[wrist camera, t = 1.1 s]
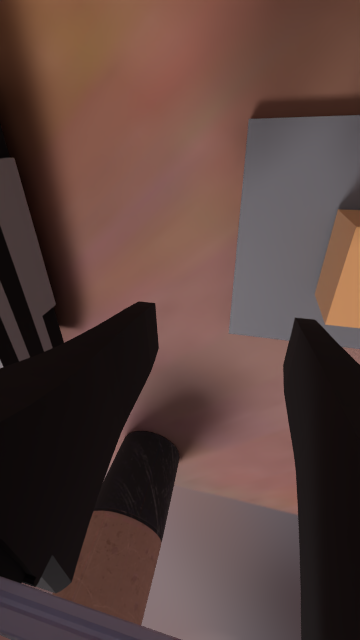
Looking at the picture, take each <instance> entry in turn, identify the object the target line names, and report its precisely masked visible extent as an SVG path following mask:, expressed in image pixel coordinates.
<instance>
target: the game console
mask: <svg viewBox="0 0 360 640" xmlns="http://www.w3.org/2000/svg"><path fill="white" fill-rule="evenodd" d="M55 305H56V303H55V300H54V296H53V293H52V289H51V286H50V282H49V279H48V275H47V271H46V268H45V264H44V261H43V257H42V254H41V250H40V247H39V243H38V240H37V236H36V233H35V229H34V226H33V222H32V219H31V215H30V212H29V208H28V205H27V201H26V198H25V194H24V191H23V187H22V184H21V180H20V176H19V173H18V169H17V166H16V162H15V159H14V158H10V156H9V152H8V149H7V145H6V142H5V139H4V135H3V132H2V128H1V125H0V368H2V367H5V366H8V365H11V364H13V363H16V362H19V361H22V360H25V359H27V358H30V357H33V356H35V355H38V354H40V353H43V352H45V351H47V350H50V349H52V348H54V347H56V346H59V345H61V344H63V343H64V341H63V338H62V334H61V331H60V327H59V324H58V321H57V317H56V314H55V310H54V306H55Z"/></svg>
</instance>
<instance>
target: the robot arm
mask: <svg viewBox="0 0 360 640" xmlns="http://www.w3.org/2000/svg"><path fill="white" fill-rule="evenodd" d="M158 349H159V347H158V334H157V321H156V308H155V303H148V302H137V303H135V304H133V305H131V306H130V307H128V308H126V309H124V310H123V311H121V312H119V313H118V314H116V315H114V316H113V317H111V318H109V319H108V320H106V321H104V322H102V323H101V324H99V325H97V326H96V327H94V328H92V329H90V330H88V331H86V332H84V333H82V334H81V335H79V336H77V337H75V338H73V339H71V340H69V341H67V342H65V343H63V344H61V345H59V346H56V347H54V348H52V349H50V350H47V351H45V352H43V353H40V354H38V355H35V356H33V357H30V358H27V359H25V360H22V361H19V362H16V363H13V364H11V365H8V366H5V367H2V368H0V635H1V636H3V637H6V638H8V639H11V640H181V639H178V638H175V637H172V636H169V635H166V634H163V633H161V632H158V631H155V630H152V629H149V628H146V627H144V626H141V625H138V624H135V623H132V622H129V621H126V620H124V619H121V618H118V617H115V616H112V615H109V614H106V613H104V612H101V611H98V610H95V609H92V608H89V607H86V606H84V605H81V604H78V603H75V602H72V601H69V600H66V599H64V598H61V597H58V596H55V595H52V594H49V593H46V592H43V591H41V590H38V589H35V588H32V587H29V586H26V585H24V584H21V583H25V584H28V585H31V586H34V587H39V588H42V589H45V590H48V591H51V592H53V593H58V592H60V591H62V590H63V589H64V588H66V587H67V586H68V585H69V584H70V583H71V582H72V580H73V576H74V573H75V569H76V566H77V562H78V559H79V556H80V552H81V549H82V546H83V542H84V539H85V536H86V532H87V529H88V526H89V523H90V520H91V517H92V514H93V511H94V508H95V504H96V501H97V498H98V495H99V492H100V489H101V486H102V484H103V481H104V478H105V475H106V472H107V469H108V466H109V464H110V461H111V458H112V455H113V453H114V450H115V447H116V445H117V442H118V439H119V437H120V434H121V432H122V430H123V427H124V425H125V423H126V421H127V419H128V417H129V415H130V413H131V411H132V409H133V407H134V405H135V403H136V401H137V399H138V397H139V395H140V393H141V391H142V389H143V387H144V385H145V383H146V381H147V378H148V376H149V374H150V372H151V370H152V367H153V364H154V361H155V358H156V355H157V352H158ZM283 372H284V395H285V401H286V408H287V414H288V421H289V427H290V433H291V439H292V445H293V452H294V459H295V467H296V481H297V499H298V520H299V543H300V575H301V576H300V578H301V636H302V637H301V639H302V640H360V365H359V364H358V363H357V362H356V361H355V360H354V359H353V358H352V357H351V356H350V355H349V354H348V353H347V352H346V351H345V350H344V349H343V348H342V347H341V346H340V345H339V344H338V343H337V342H336V341H335V340H334V339H333V338H332V336H331V335H330V334H329V333H328V332H327V331H326V330H325V329H324V328H323V327H322V326H321V325H320V324H319V323H318V322H317V321H316V320H314V319H305V318H295V319H294V324H293V328H292V332H291V336H290V340H289V344H288V348H287V352H286V356H285V361H284V365H283Z"/></svg>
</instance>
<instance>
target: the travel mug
mask: <svg viewBox="0 0 360 640" xmlns="http://www.w3.org/2000/svg"><path fill="white" fill-rule="evenodd" d="M178 463H179V453H178V450H177V448H176V447H175V446H174V445H173V444H172V443H171V442H170V441H168V440H167V439H165V438H164V437H162V436H160V435H157V434H154V433H151V432H145V431H137V432H132V433H130V434H128V435H127V436H126V437H125V439H124V441H123V443H122V445H121V447H120V449H119V451H118V453H117V455H116V457H115V459H114V461H113V463H112V465H111V467H110V469H109V471H108V473H107V476H106V477H105V479H104V482H103V484H102V486H101V489H100V492H99V495H98V498H97V501H96V504H95V508H94V511H93V514H92V517H91V520H90V523H89V526H88V529H87V532H86V536H85V539H84V542H83V546H82V549H81V552H80V556H79V559H78V562H77V566H76V569H75V573H74V576H73V580H72V582H71V583H70V584H69V585H68V586H67V587H66V588H64V589H63V590H62V591H60V592H58V593H53V594H52V595H55V596H58V597H61V598H64V599H66V600H69V601H72V602H75V603H78V604H81V605H84V606H86V607H89V608H92V609H95V610H98V611H101V612H104V613H106V614H109V615H112V616H115V617H118V618H121V619H124V620H126V621H129V622H132V623H135V624H138V625H141V623H142V620H143V615H144V611H145V608H146V603H147V600H148V595H149V591H150V587H151V583H152V579H153V575H154V571H155V567H156V563H157V559H158V555H159V551H160V547H161V542H162V538H163V534H164V529H165V524H166V519H167V515H168V510H169V505H170V501H171V496H172V491H173V487H174V482H175V477H176V473H177V468H178Z"/></svg>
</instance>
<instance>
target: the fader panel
mask: <svg viewBox="0 0 360 640" xmlns="http://www.w3.org/2000/svg"><path fill="white" fill-rule="evenodd" d="M338 209H340V210H360V115H348V116H319V117H290V118H261V119H249V123H248V134H247V145H246V155H245V166H244V177H243V188H242V198H241V209H240V220H239V230H238V241H237V252H236V262H235V273H234V284H233V294H232V305H231V316H230V326H229V334H238V335H246V336H254V337H263V338H271V339H280V340H288V341H289V340H290V336H291V332H292V328H293V324H294V319H295V318H305V319H314V320H316V321H317V322H318V323H319V324H320V325H321V326H322V327H323V328H324V329H325V330H326V331H327V332H328V333H329V334H330V335H331V336H332V338H333V339H334V340H335V341H336V342H337V343H338V344H339V345H340V346H341V347H347V348H356V349H360V328H352V327H343V326H333V325H325V323H324V320H323V317H322V314H321V311H320V309H319V306H318V303H317V300H316V297H315V291H316V288H317V284H318V280H319V277H320V273H321V269H322V266H323V262H324V258H325V255H326V251H327V247H328V244H329V240H330V237H331V233H332V229H333V226H334V222H335V218H336V215H337V211H338Z"/></svg>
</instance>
